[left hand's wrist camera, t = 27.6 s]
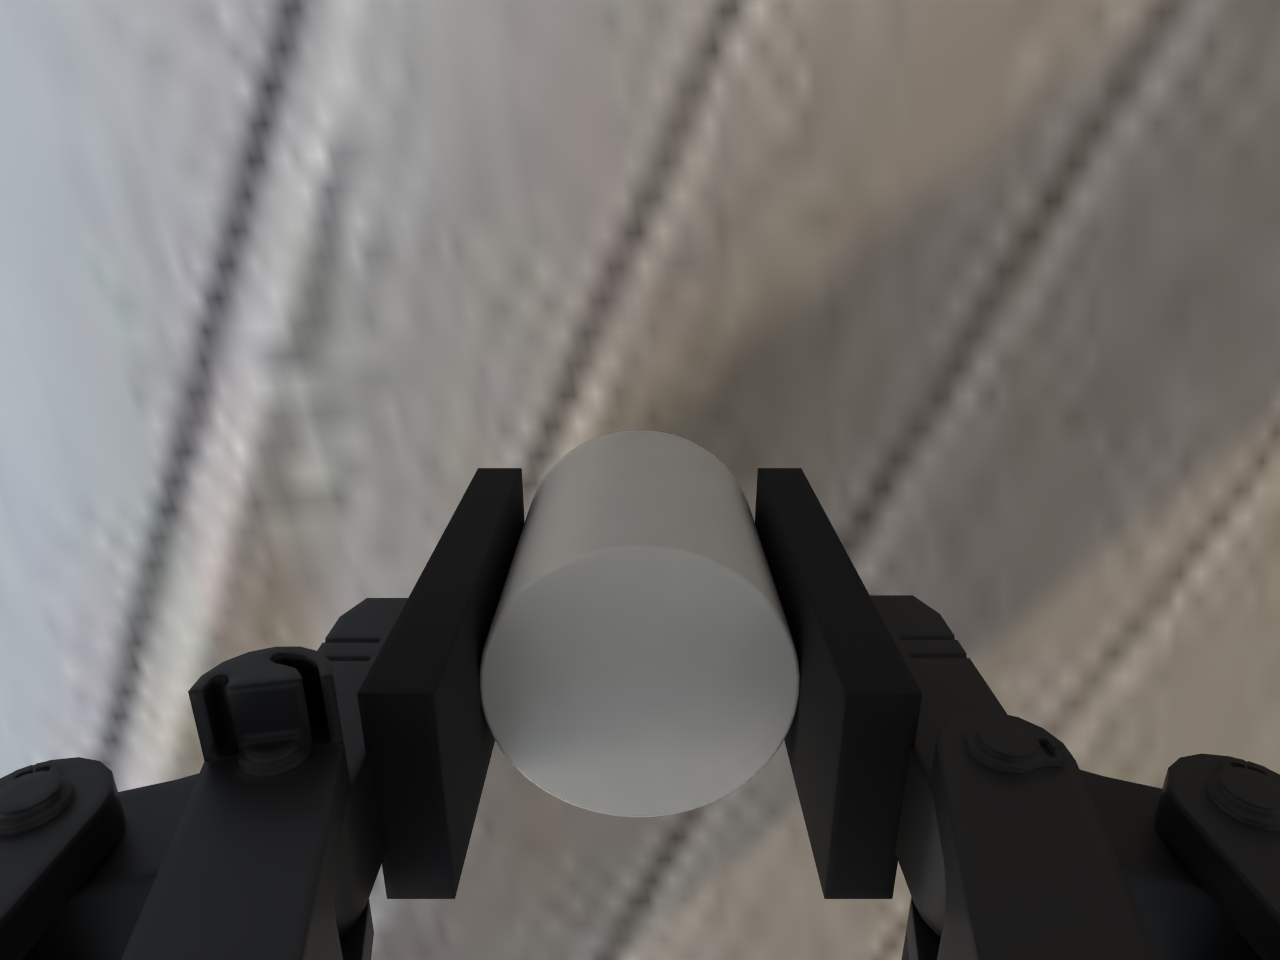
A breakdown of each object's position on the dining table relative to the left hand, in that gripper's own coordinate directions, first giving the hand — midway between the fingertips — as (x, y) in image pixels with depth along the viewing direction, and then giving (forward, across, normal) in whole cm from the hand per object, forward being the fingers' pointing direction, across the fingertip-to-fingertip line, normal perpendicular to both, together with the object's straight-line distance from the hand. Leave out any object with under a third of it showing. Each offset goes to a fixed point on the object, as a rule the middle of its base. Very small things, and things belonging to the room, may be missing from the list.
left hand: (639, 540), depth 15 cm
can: (0, 0, 0) cm, 0 cm away
